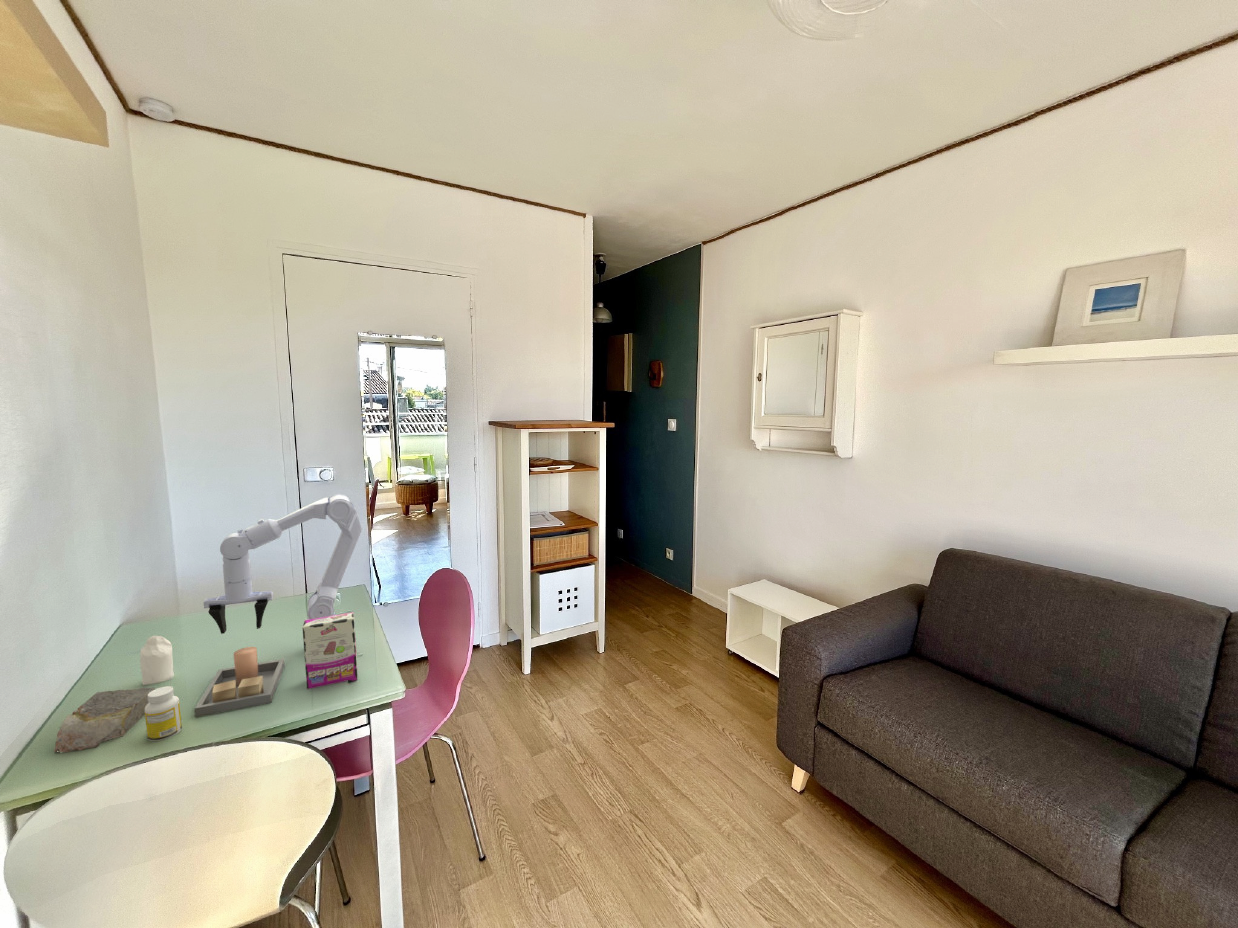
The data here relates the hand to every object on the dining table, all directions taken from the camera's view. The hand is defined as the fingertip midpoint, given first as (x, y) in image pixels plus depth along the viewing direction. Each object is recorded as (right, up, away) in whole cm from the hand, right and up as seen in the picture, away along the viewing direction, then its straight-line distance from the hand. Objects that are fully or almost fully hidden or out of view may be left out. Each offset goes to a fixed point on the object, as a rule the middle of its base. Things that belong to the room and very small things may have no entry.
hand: (241, 629), depth 134 cm
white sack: (-16, -11, -7) cm, 20 cm away
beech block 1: (+9, -11, -17) cm, 22 cm away
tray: (+9, -11, -11) cm, 18 cm away
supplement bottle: (+4, -13, -27) cm, 31 cm away
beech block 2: (+13, -11, -15) cm, 23 cm away
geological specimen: (-10, -13, -25) cm, 30 cm away
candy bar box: (+27, -11, -6) cm, 30 cm away
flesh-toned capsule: (+7, -10, -8) cm, 15 cm away
